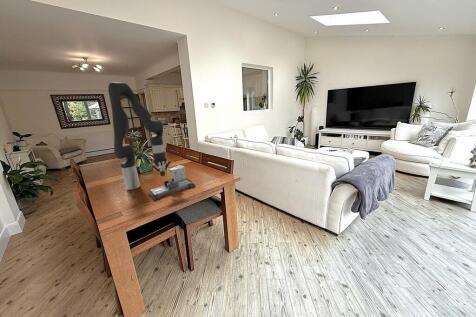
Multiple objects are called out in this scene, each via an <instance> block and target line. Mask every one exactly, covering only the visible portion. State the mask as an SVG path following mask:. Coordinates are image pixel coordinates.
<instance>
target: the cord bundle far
mask: <svg viewBox="0 0 476 317" xmlns="http://www.w3.org/2000/svg"><path fill="white" fill-rule="evenodd" d="M187 180H188V179H187ZM188 181H189V182H191V184H192V185H189V188H191V189H192V188H194V187H196V184H195V183H193V182H192V181H190V180H188Z"/></svg>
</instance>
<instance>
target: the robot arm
mask: <svg viewBox="0 0 476 317" xmlns="http://www.w3.org/2000/svg"><path fill="white" fill-rule="evenodd" d="M107 88H108V90H107V91H108V96H109V97H108V98H109V101H110V106H111V114H112V125H113V126H112V127H113V140H114V142H113V143H114V145H113V151H114V155H115V158H117V159H118V160H122V159H124V160H123V161H122V162H121V163H120V168H121V172H122V176H123V179H124V184H125V189H126V190H127V191H131V190H136V189H139V188H140V187H141V184H140V179H139V175H138V170H137V167H136V166H137V165H136V157H135V150H134V148H133V146H132V144H129V143H126V144H124V139H125V137H126V135H127V133H128V132H129V129H130V120H129V116H128V115H127V112H125V110H124V108H123V107H122V102H121V99H122V98H125V99H126V100H128V102H130V104H131V109H132V112H133V113H134V114H135V116H137V117H138V119H139V120H141V123H142V125H143V127H144V129H145V130H146V131H147V132H149V133H153V135H152V136H151V137H150V143H151V151H152V156H153V162H152V164H150V167H152V168H153V169H154V170H155V171H157V172H159V174H160V177H165V175H166V169H167V168H169V166H170V164H171V161H170V160H167V157H166V151H165V150H166V149H165V145H164V140H163V135H164V125H163V123H162V122H161V121H160V120H156V119H155V120H152V114H151V112H149V111H148V110H147V108H146V107H145V106H143V104H142V103H141V101H140V100H139V99H138V97H137V96H136V94H135V93H134V92H133V89H131V87H130V85H128V83H126V82H123V81H111V82H109V83H108V87H107ZM156 166H157V167H158V168H157V167H156Z"/></svg>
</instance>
